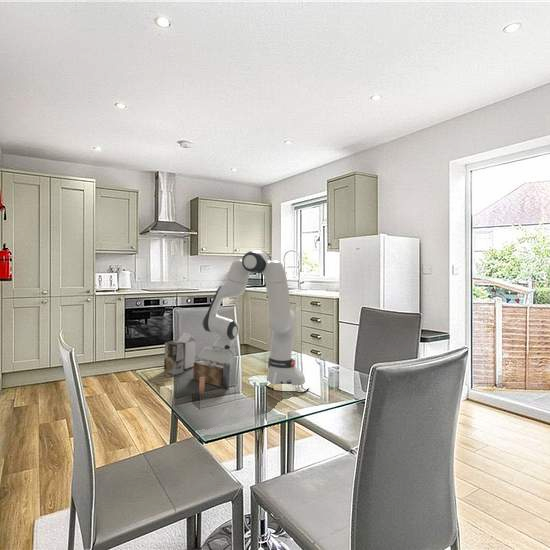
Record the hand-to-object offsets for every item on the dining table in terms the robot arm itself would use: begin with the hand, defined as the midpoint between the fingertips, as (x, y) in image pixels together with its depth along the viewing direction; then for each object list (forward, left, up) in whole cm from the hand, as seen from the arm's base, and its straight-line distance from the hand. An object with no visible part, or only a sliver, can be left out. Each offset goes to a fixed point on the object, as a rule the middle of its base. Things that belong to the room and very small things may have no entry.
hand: (208, 370), depth 207 cm
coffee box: (+21, -6, -5) cm, 23 cm away
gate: (-2, +6, -4) cm, 8 cm away
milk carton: (+19, -17, -5) cm, 26 cm away
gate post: (-13, +9, -5) cm, 17 cm away
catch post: (-4, +19, -5) cm, 21 cm away
